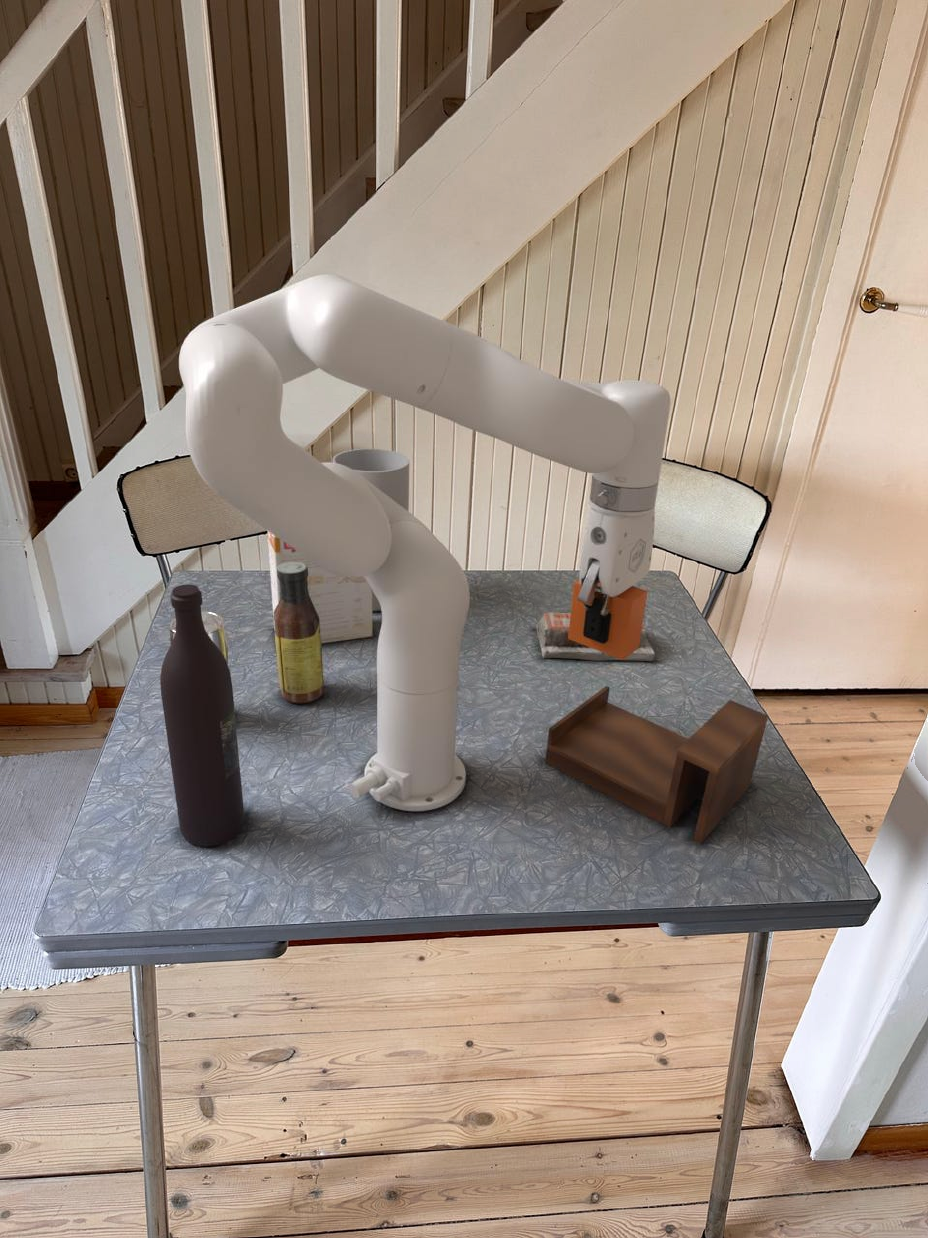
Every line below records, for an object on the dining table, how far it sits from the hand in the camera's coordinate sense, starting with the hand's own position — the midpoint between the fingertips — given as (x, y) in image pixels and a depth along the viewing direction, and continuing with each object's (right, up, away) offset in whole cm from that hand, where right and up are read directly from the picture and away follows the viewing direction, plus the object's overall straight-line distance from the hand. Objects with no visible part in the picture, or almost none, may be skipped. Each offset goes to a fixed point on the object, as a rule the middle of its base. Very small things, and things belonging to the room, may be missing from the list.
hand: (605, 630), depth 105 cm
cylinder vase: (-34, +5, +44) cm, 56 cm away
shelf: (+6, -19, +3) cm, 20 cm away
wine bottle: (-46, -22, -9) cm, 52 cm away
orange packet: (0, -2, +1) cm, 2 cm away
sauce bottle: (-41, -9, +16) cm, 45 cm away
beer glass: (-52, -12, +9) cm, 55 cm away
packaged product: (+3, -3, +32) cm, 33 cm away
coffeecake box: (-41, -1, +32) cm, 51 cm away
